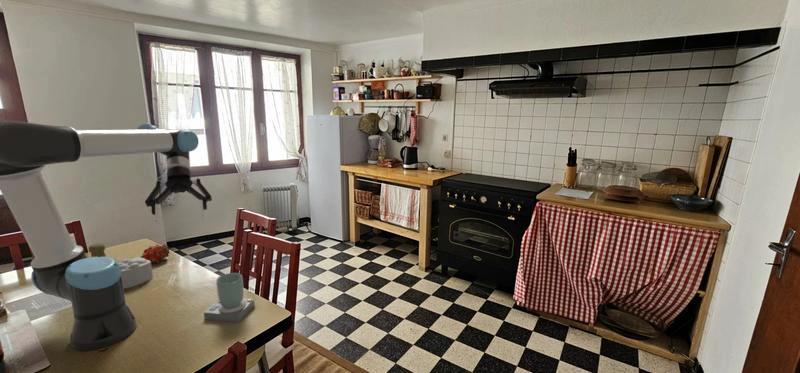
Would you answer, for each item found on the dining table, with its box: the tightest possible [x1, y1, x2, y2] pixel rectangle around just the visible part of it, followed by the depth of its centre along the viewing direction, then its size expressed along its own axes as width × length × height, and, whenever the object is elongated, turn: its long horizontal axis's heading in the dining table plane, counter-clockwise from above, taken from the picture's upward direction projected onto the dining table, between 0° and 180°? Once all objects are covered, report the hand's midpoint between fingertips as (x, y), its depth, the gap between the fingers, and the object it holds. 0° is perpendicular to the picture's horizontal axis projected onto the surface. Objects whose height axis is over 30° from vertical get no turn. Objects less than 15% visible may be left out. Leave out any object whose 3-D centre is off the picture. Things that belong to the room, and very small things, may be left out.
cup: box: [215, 272, 245, 308], centre depth 114 cm, size 8×8×10 cm
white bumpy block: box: [118, 256, 154, 290], centre depth 134 cm, size 10×13×9 cm
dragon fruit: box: [140, 244, 171, 264], centre depth 152 cm, size 8×8×12 cm
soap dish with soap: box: [203, 297, 255, 323], centre depth 115 cm, size 10×12×3 cm
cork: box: [88, 242, 107, 257], centre depth 144 cm, size 6×6×11 cm
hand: (180, 219), depth 119 cm, fingers open, 13 cm apart
